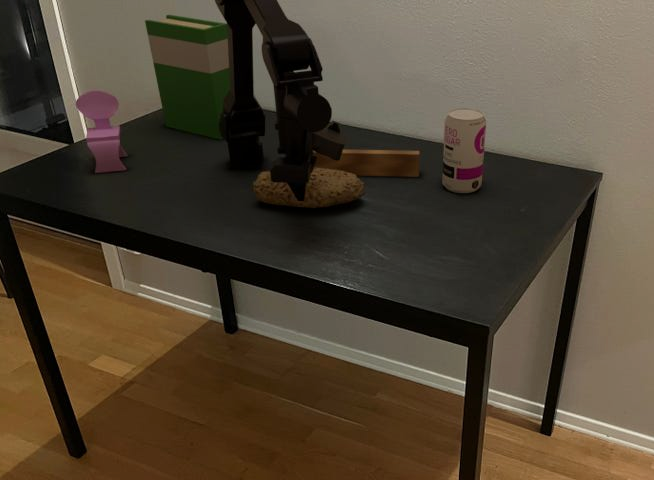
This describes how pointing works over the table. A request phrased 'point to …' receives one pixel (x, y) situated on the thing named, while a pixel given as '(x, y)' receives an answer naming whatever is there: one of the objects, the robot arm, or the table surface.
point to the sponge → (312, 189)
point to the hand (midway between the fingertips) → (301, 200)
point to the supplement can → (463, 150)
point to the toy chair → (102, 130)
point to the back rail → (373, 162)
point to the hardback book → (190, 72)
